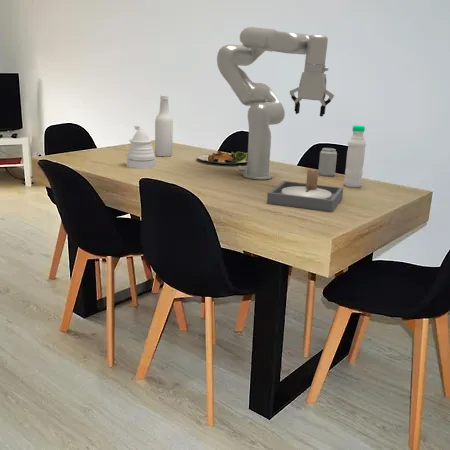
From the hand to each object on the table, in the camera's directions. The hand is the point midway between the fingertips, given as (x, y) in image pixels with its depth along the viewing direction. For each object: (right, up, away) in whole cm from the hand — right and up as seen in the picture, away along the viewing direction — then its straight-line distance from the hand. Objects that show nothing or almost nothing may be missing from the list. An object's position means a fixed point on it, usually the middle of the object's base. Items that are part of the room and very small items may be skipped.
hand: (309, 114), depth 214 cm
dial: (-3, -32, -13) cm, 35 cm away
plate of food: (-33, -12, +59) cm, 68 cm away
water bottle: (+20, -27, +15) cm, 37 cm away
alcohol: (-64, -8, +66) cm, 92 cm away
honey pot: (-71, -16, +37) cm, 82 cm away
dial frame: (-3, -34, -13) cm, 36 cm away
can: (+13, -20, +36) cm, 43 cm away
